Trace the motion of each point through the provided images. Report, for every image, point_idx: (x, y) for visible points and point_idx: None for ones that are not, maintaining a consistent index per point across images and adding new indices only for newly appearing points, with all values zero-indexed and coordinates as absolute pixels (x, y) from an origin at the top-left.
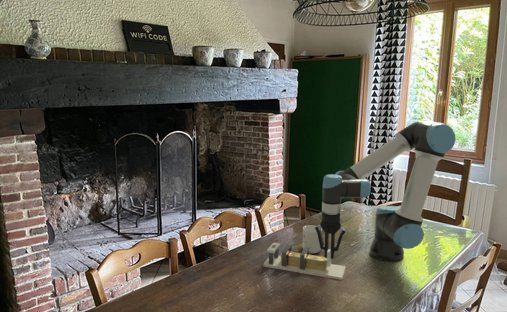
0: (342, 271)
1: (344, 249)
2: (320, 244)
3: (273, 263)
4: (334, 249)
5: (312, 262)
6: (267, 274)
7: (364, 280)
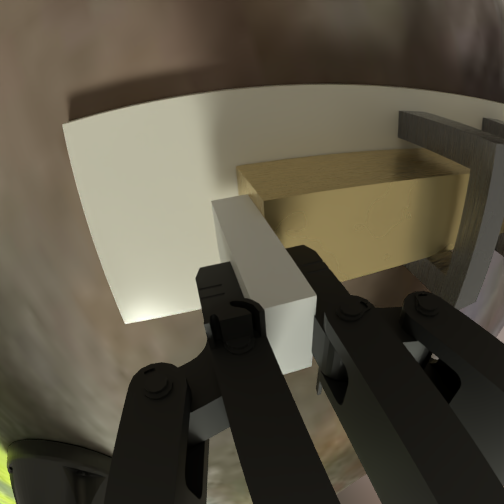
0: (104, 237)
1: (225, 444)
2: (477, 335)
3: None
4: (205, 384)
5: (386, 168)
6: None
7: None
